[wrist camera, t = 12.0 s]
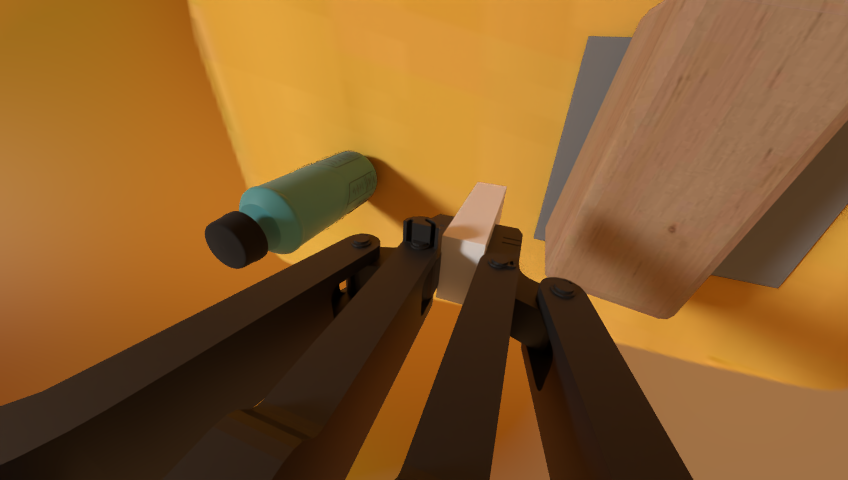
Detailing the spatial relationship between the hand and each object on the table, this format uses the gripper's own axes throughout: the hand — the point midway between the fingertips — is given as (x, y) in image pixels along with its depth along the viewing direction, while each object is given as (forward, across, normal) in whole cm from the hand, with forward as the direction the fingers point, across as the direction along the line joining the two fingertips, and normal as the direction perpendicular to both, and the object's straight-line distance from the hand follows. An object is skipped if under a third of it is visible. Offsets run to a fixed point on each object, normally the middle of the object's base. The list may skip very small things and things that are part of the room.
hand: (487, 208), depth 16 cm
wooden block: (+12, +12, +11) cm, 20 cm away
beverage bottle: (+18, -18, -6) cm, 26 cm away
